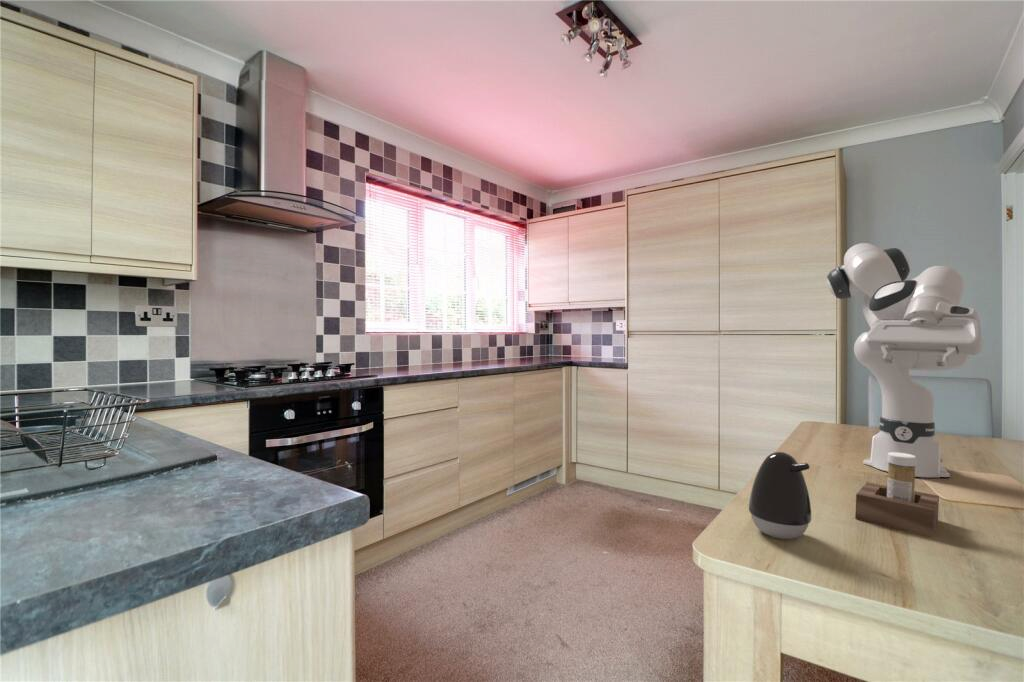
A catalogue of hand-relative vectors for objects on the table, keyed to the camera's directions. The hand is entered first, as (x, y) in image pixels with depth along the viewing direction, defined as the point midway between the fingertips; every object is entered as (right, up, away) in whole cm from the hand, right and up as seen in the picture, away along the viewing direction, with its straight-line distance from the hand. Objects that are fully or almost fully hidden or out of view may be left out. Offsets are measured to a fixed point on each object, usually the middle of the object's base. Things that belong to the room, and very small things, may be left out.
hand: (912, 363), depth 108 cm
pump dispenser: (-38, -31, -16) cm, 52 cm away
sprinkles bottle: (-9, -32, -8) cm, 34 cm away
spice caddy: (-10, -31, -8) cm, 34 cm away
